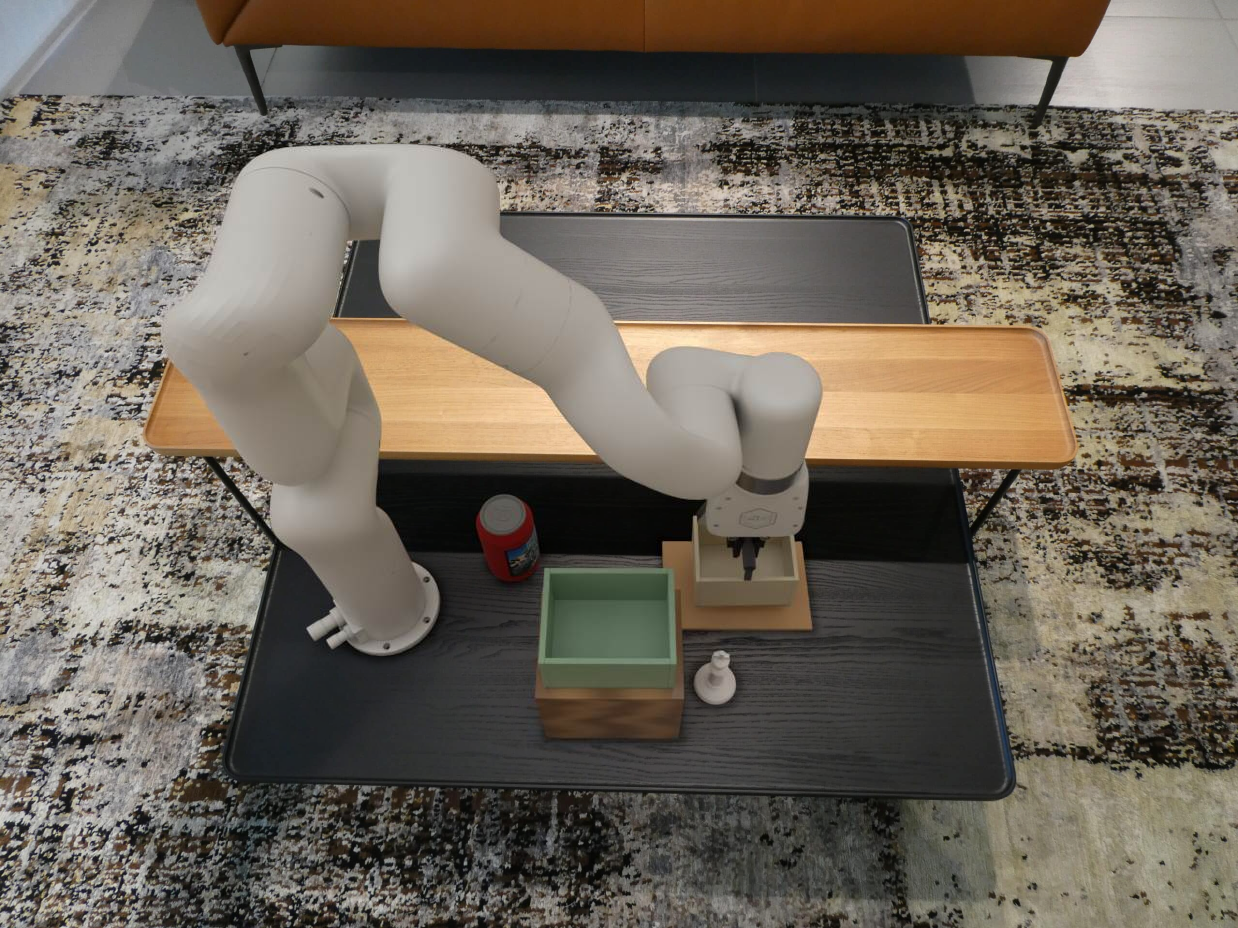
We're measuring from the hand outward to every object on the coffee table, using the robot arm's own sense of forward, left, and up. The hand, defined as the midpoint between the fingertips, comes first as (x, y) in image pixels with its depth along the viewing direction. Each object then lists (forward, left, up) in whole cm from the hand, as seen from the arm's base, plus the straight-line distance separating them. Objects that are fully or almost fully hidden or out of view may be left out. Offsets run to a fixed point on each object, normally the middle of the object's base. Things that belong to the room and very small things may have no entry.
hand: (744, 546), depth 97 cm
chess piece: (-10, -8, -11) cm, 17 cm away
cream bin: (0, 0, -7) cm, 7 cm away
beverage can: (-20, +20, -11) cm, 30 cm away
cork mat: (0, 0, -11) cm, 11 cm away
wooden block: (-20, -1, -11) cm, 23 cm away
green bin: (-20, -1, +3) cm, 20 cm away
